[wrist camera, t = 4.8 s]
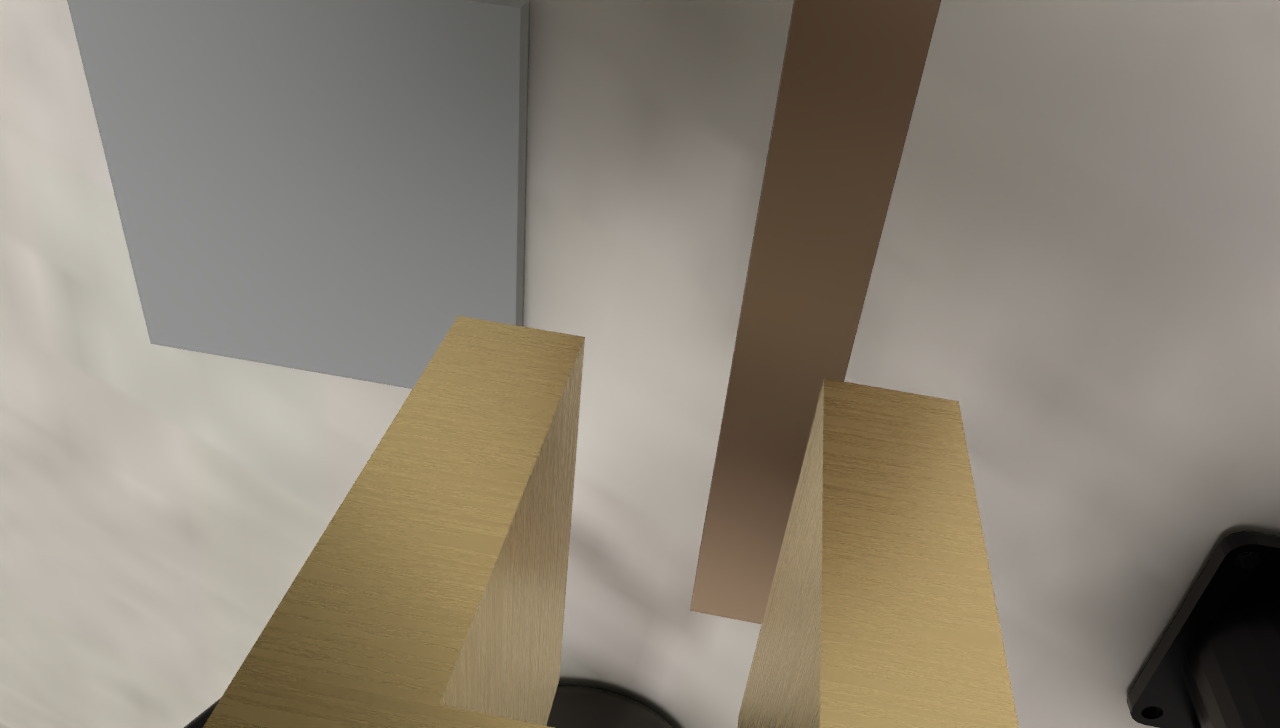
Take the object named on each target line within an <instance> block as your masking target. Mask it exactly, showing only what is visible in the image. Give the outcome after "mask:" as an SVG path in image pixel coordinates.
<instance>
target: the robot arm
mask: <svg viewBox="0 0 1280 728" xmlns="http://www.w3.org/2000/svg"><path fill="white" fill-rule="evenodd" d="M1246 552H1251V553H1250V554H1248V555H1245V556H1240V555H1241V554H1244V553H1246ZM220 699H221V698H220ZM220 699H219V700H218V701H216V702H215V703H214V704H213V705H211V706H210V707H209V708H208V709H206V710H205V711H204V712H203V713H201V714H200V715H199V716H198V717H196V718H195V719H194V720H193V721H191V722H190V723H189V724H188V725H186V726H185V727H184V728H203V727H204V725H205V723H206V722H207V720H208V718H209V717H210V715H211V714H212V712H213V710H214V709H215V707H216V706H217V704H218V702H219V701H220ZM1127 703H1128V707H1129V710H1130V713H1131V716H1132V718H1133V719H1134V720H1135V721H1136V722H1138V723H1141V724H1144V725H1149V726H1154V727H1159V728H1280V536H1274V535H1268V534H1262V533H1257V532H1244V531H1242V532H1238V533H1234V534H1231V535H1229V536H1228V537H1226V538H1224V539H1223V540H1222V541H1221V543H1220V544H1219V545H1218V547H1217V548H1216V550H1215V552H1214V553H1213V555H1212V557H1211V558H1210V560H1209V562H1208V563H1207V565H1206V567H1205V568H1204V570H1203V572H1202V573H1201V575H1200V577H1199V578H1198V580H1197V582H1196V583H1195V585H1194V587H1193V588H1192V590H1191V592H1190V593H1189V595H1188V597H1187V598H1186V600H1185V602H1184V603H1183V605H1182V607H1181V608H1180V610H1179V612H1178V613H1177V615H1176V617H1175V618H1174V620H1173V622H1172V623H1171V625H1170V627H1169V628H1168V630H1167V632H1166V633H1165V635H1164V637H1163V638H1162V640H1161V642H1160V643H1159V645H1158V647H1157V648H1156V650H1155V652H1154V653H1153V655H1152V657H1151V658H1150V660H1149V662H1148V663H1147V665H1146V667H1145V668H1144V670H1143V672H1142V673H1141V675H1140V677H1139V678H1138V680H1137V682H1136V683H1135V685H1134V687H1133V688H1132V690H1131V692H1130V693H1129V695H1128V698H1127Z"/></svg>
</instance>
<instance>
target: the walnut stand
mask: <svg viewBox="0 0 1280 728" xmlns="http://www.w3.org/2000/svg"><path fill="white" fill-rule="evenodd" d="M940 3H941V0H794V4H793V10H792V16H791V22H790V27H789V33H788V39H787V45H786V51H785V57H784V62H783V68H782V74H781V80H780V86H779V92H778V97H777V103H776V109H775V115H774V121H773V127H772V132H771V138H770V144H769V150H768V156H767V162H766V167H765V173H764V179H763V185H762V191H761V197H760V202H759V208H758V214H757V220H756V226H755V232H754V237H753V243H752V249H751V255H750V261H749V267H748V272H747V278H746V284H745V290H744V296H743V302H742V307H741V313H740V319H739V325H738V331H737V337H736V342H735V348H734V354H733V360H732V366H731V372H730V377H729V383H728V389H727V395H726V401H725V406H724V412H723V418H722V424H721V430H720V436H719V441H718V447H717V453H716V459H715V465H714V471H713V476H712V482H711V488H710V494H709V500H708V506H707V511H706V517H705V523H704V529H703V535H702V541H701V546H700V553H699V559H698V565H697V571H696V578H695V584H694V590H693V596H692V602H691V609H690V611H695V612H700V613H705V614H711V615H716V616H721V617H726V618H732V619H737V620H742V621H748V622H753V623H758V624H762V622H763V618H764V614H765V610H766V606H767V602H768V598H769V594H770V590H771V586H772V582H773V578H774V574H775V570H776V566H777V562H778V558H779V554H780V550H781V546H782V542H783V538H784V534H785V530H786V527H787V523H788V519H789V515H790V511H791V507H792V503H793V499H794V495H795V491H796V487H797V483H798V479H799V475H800V471H801V467H802V463H803V459H804V455H805V451H806V447H807V443H808V439H809V435H810V431H811V427H812V423H813V420H814V416H815V412H816V408H817V404H818V400H819V396H820V392H821V388H822V384H823V380H824V378H825V379H831V380H837V381H842V382H844V379H845V375H846V371H847V367H848V363H849V359H850V355H851V351H852V347H853V343H854V339H855V335H856V332H857V328H858V324H859V320H860V316H861V312H862V308H863V304H864V300H865V296H866V292H867V288H868V285H869V281H870V277H871V273H872V269H873V265H874V261H875V257H876V253H877V249H878V245H879V241H880V238H881V234H882V230H883V226H884V222H885V218H886V214H887V210H888V206H889V202H890V198H891V194H892V191H893V187H894V183H895V179H896V175H897V171H898V167H899V163H900V159H901V155H902V151H903V147H904V144H905V140H906V136H907V132H908V128H909V124H910V120H911V116H912V112H913V108H914V104H915V100H916V97H917V93H918V89H919V85H920V81H921V77H922V73H923V69H924V65H925V61H926V57H927V53H928V50H929V46H930V42H931V38H932V34H933V30H934V26H935V22H936V18H937V14H938V10H939V6H940Z"/></svg>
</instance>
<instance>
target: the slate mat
mask: <svg viewBox="0 0 1280 728" xmlns="http://www.w3.org/2000/svg"><path fill="white" fill-rule="evenodd" d="M67 1H68V5H69V9H70V13H71V17H72V21H73V25H74V29H75V34H76V38H77V42H78V46H79V50H80V54H81V58H82V62H83V66H84V71H85V75H86V79H87V83H88V87H89V91H90V95H91V99H92V103H93V108H94V112H95V116H96V120H97V124H98V128H99V132H100V136H101V140H102V145H103V149H104V153H105V157H106V161H107V165H108V169H109V173H110V177H111V182H112V186H113V190H114V194H115V198H116V202H117V206H118V210H119V214H120V218H121V223H122V227H123V231H124V235H125V239H126V243H127V247H128V251H129V255H130V260H131V264H132V268H133V272H134V276H135V280H136V284H137V288H138V292H139V297H140V301H141V305H142V309H143V313H144V317H145V321H146V325H147V329H148V334H149V338H150V342H151V344H156V345H162V346H168V347H173V348H179V349H185V350H191V351H196V352H202V353H208V354H214V355H220V356H225V357H231V358H237V359H243V360H248V361H254V362H260V363H266V364H272V365H277V366H283V367H289V368H295V369H300V370H306V371H312V372H318V373H324V374H329V375H335V376H341V377H347V378H352V379H358V380H364V381H370V382H376V383H381V384H387V385H393V386H399V387H404V388H410V389H413V388H414V386H415V385H416V383H417V381H418V380H419V378H420V376H421V375H422V373H423V372H424V370H425V368H426V367H427V365H428V364H429V362H430V360H431V359H432V357H433V355H434V354H435V352H436V351H437V349H438V347H439V346H440V344H441V343H442V341H443V339H444V338H445V336H446V334H447V333H448V331H449V330H450V328H451V326H452V325H453V323H454V322H455V320H456V318H457V317H458V316H464V317H470V318H476V319H482V320H487V321H493V322H499V323H505V324H511V325H516V326H522V327H523V286H524V236H525V187H526V138H527V88H528V39H529V0H67Z"/></svg>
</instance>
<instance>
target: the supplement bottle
mask: <svg viewBox="0 0 1280 728" xmlns="http://www.w3.org/2000/svg"><path fill="white" fill-rule="evenodd" d="M546 726H549V727H554V728H673V727H672V726H671V725H670V724H669V723H668V722H666V721H665V720H664V719H663V718H662V717H660V716H659V715H658V714H656V713H655V712H653V711H652V710H650V709H649V708H647V707H645V706H643V705H642V704H640V703H638V702H636V701H634V700H631V699H629V698H626V697H624V696H621V695H618V694H615V693H612V692H608V691H604V690H600V689H595V688H589V687H580V686H557V689H556V693H555V697H554V700H553V704H552V707H551V711H550V714H549V718H548V721H547V725H546Z"/></svg>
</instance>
